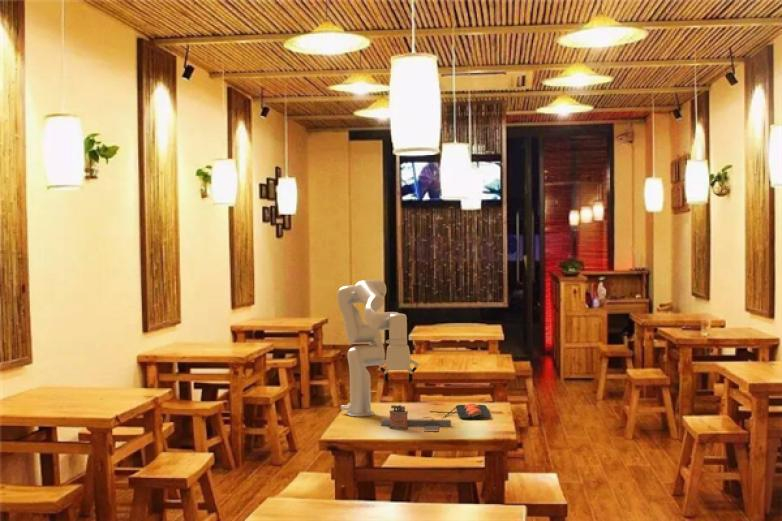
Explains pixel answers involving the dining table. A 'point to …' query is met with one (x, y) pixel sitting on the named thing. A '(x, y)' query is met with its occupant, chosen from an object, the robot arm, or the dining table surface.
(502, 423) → the dining table surface
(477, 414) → the sushi plate
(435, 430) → the marked pad
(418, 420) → the rail
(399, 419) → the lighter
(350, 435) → the dining table surface
